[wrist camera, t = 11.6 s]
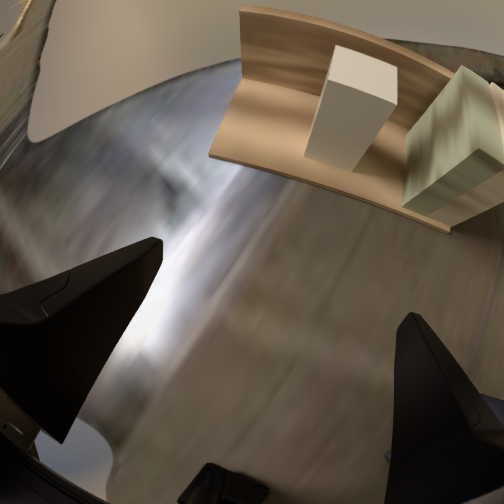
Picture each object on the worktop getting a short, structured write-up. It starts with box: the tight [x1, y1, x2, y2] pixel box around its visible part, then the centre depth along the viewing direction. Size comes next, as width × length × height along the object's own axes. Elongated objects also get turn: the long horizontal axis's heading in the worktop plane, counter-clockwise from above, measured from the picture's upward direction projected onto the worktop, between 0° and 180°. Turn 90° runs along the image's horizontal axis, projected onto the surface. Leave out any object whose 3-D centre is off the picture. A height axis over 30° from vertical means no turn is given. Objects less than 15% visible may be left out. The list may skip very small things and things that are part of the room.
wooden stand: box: [208, 5, 504, 234], centre depth 19 cm, size 11×24×13 cm, turn 73°
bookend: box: [304, 45, 397, 172], centre depth 20 cm, size 4×4×10 cm
